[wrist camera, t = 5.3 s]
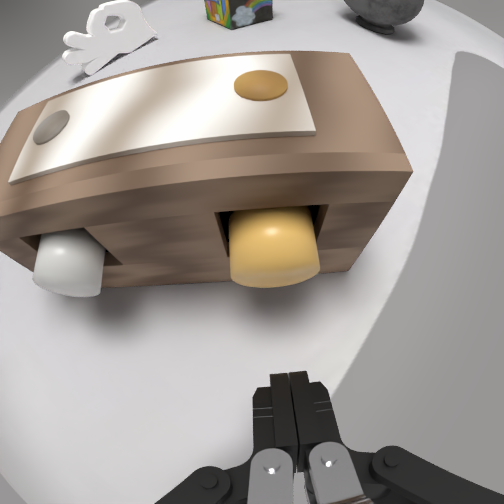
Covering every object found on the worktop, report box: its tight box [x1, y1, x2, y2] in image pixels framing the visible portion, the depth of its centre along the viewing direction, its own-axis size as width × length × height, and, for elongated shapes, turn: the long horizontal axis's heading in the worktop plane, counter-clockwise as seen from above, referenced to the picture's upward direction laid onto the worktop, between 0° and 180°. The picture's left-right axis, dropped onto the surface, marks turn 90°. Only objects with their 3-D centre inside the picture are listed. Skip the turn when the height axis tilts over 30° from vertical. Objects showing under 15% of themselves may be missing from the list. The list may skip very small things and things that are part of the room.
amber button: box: [229, 205, 320, 288], centre depth 15 cm, size 4×3×4 cm
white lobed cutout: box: [62, 0, 157, 75], centre depth 34 cm, size 3×15×11 cm, turn 131°
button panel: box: [0, 51, 413, 288], centre depth 18 cm, size 24×10×12 cm, turn 94°
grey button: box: [33, 227, 106, 297], centre depth 15 cm, size 4×3×4 cm
